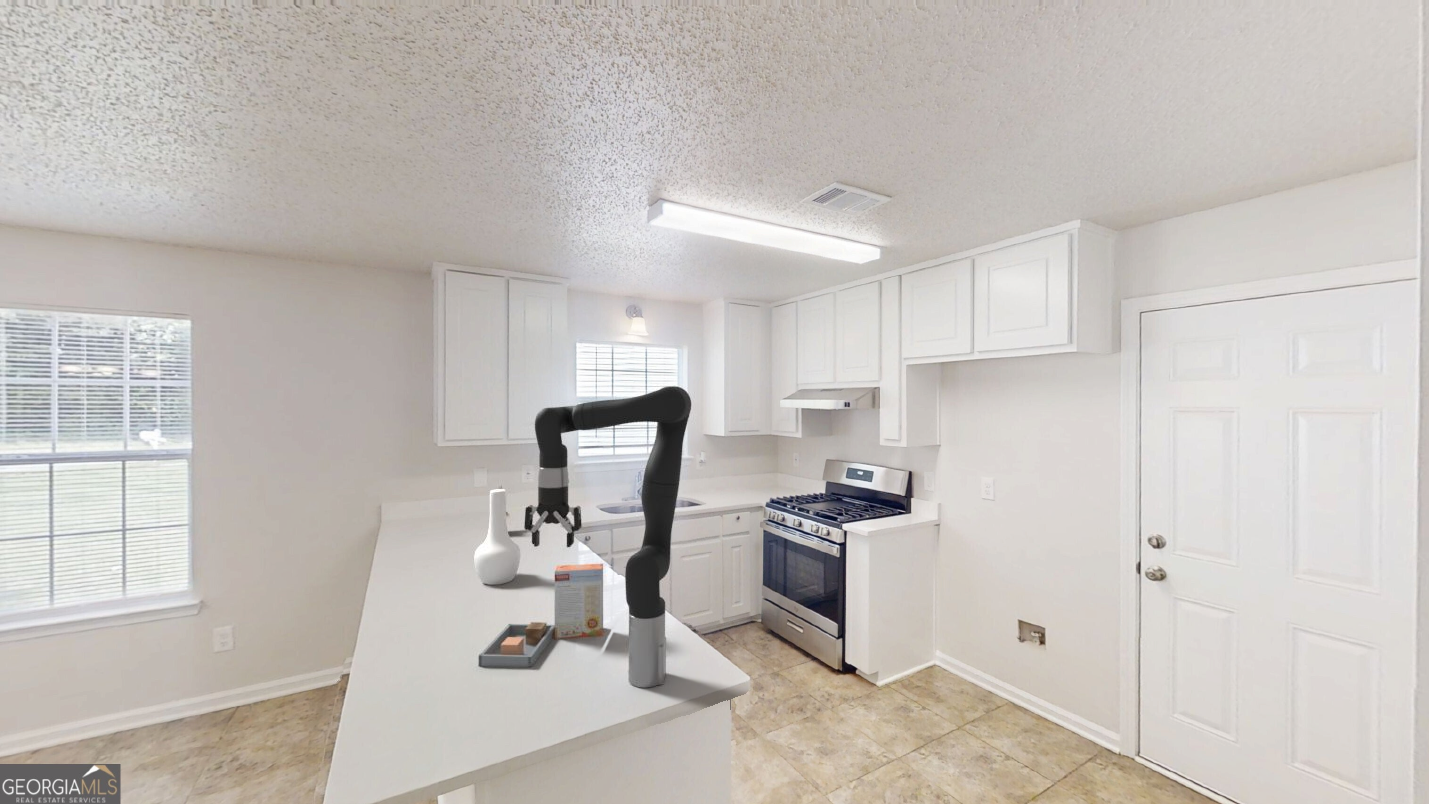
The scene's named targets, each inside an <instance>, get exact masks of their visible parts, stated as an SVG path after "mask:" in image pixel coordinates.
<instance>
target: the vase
mask: <svg viewBox="0 0 1429 804" xmlns="http://www.w3.org/2000/svg"><path fill="white" fill-rule="evenodd" d="M506 512H507V490H506V489H501V488H500V489H499V488H498V489H491V490H490V491H489V520H488V521H489V522H488V523H489V524H488V531H487V536H486V539H485V540H484V542H482V543H481V544H480V545H479V546H478V547H477V549H475V552H474V557H473V558H474V559H473V560H474V566H475V570H476V574H477V576H478V578H479V580H480V582H481V583H483V584H484V585H487V586H488V585H489V586H492V585H495V586H496V585H503V584H506V583H509V582H511V581H512V580H513V579H514V578H515V576H516V574H517V573H518V570H519V567H520V563H521V562H520V561H521V549H520V546H519V544H518V543H517V542H515V541H514V540H512V538H511V537H510V534H509V532H508V525H507V524H508V522H507V518H506Z"/></svg>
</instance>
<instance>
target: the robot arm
mask: <svg viewBox="0 0 1429 804" xmlns="http://www.w3.org/2000/svg"><path fill="white" fill-rule="evenodd" d="M691 410H692V399H691V397H690V394H689V393H688V392H687V391H686V390H685V389H684V388H683V387H680V386H674V385H673V386H663V387H661V388H660V389H657V390H654V391H652V392H649V393H645V394H643V395H638V396H633V397H628V398H619V399H617V398H616V399H604V400H595V401H590V402H583V403H579V404H576V405H568V406H555V407H553V406H552V407H546V408H542V409H540V410H539V412H538V413H537V414H536V416H535V421H534V433H535V438H536V442H537V446H538V450H539V456H538V457H539V460H538V461H539V463H538V466H539V467H538V469H539V470H538V474H537V475H538V476H537V479H538V480H537V482H538V484H537V486H538V487H537V490H538V491H537V493H538V494H537V501H538V502H537V506H534V505H532V504H530V505H528V506H527V507H525V509H524V510H525V511H524V512H525V513H524V514H525V515H524V526H523V528H524V530H526V531H527V530H528V531H530V532H531V544H532V545H533V547H535V548H537V547H539V546H540V538H541V537H540V534H541V533H540V529H541V526H543V524H544V523H545V524H548V525H549V524H550V525H551V524H554V525H558V524H561V526H562V527H563V528H564V529H565V530H566V532H567V533H566V548H571V546H572V545H573V544H575V543H574V542H575V532H576V531H577V532H578V531H579V530H580V529H582V527H583V526H582V509H581V506H580V505H577V506H570V505H569V483H570V480H569V471H568V470H569V468H568V447H567V446H566V445H565V444H563V441H562V440H563V438H562V434H565V433H571V432H576V431H590V430H596V429H597V430H598V429H606V428H610V427H615V426H620V425H626V424H633V423H656V424H657V425H656V433H655V437H654V438H655V439H654V443H653V446H652V448H651V451H650V454H649V456H648V459H647V462H646V465H645V469H644V474H643V481H642V485H641V486H642V488H641V494H640V495H641V496H640V498H641V507H642V511H643V515H644V522H645V525H644V532H643V533H644V534H643V539H642V545H641V548H640V550H638V551H637V552H635V553H633V554H632V555H631V556H630V557H629V558H628V559H627V562H626V566H625V572H624V575H625V576H624V577H625V578H624V580H625V600H626V603H627V606H628V670H627V672H628V682H629V683H630V684H631V686H634V687H638V688H654V687H656V686H660V685H662V686H663V685H664V683H665V679H666V678H665V677H666V674H667V636H666V601H665V599H664V598H663V597H661V593H660V592H661V591H660V590H661V589H660V581H661V580H662V579H664V578H665V577H666V575H667V574H668V572H669V570H670V565H671V546H672V545H671V544H672V543H671V541H672V531H673V530H672V529H673V523H674V519H675V513H676V512H675V511H676V507H677V506H676V505H677V500H678V494H679V487H680V480H681V470H682V460H683V446H684V445H683V444H684V439H685V434H686V429H687V425H688V422H689V418H690V414H691ZM536 512H537V515H538V516H539V518H538V519H537V521H536V522H535V524H533V523H534V522H533V518H534V515H535V514H536ZM569 513H570V514H571V516H573V522H574V523H572V522H571V519H570V518H569V517H568V514H569Z"/></svg>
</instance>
